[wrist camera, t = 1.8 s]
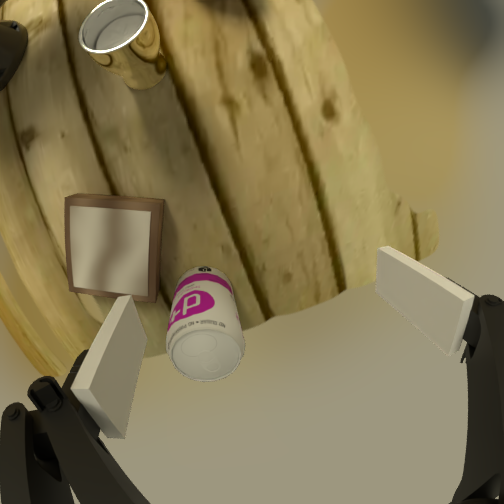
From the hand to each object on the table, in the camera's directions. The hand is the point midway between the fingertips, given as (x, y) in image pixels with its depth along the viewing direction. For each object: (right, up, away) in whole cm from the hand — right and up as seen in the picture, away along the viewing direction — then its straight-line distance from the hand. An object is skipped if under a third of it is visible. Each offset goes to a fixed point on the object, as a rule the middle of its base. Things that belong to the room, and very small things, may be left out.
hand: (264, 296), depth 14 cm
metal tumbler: (-15, +26, +15) cm, 33 cm away
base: (-19, +3, +22) cm, 29 cm away
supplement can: (-7, -3, +26) cm, 27 cm away
